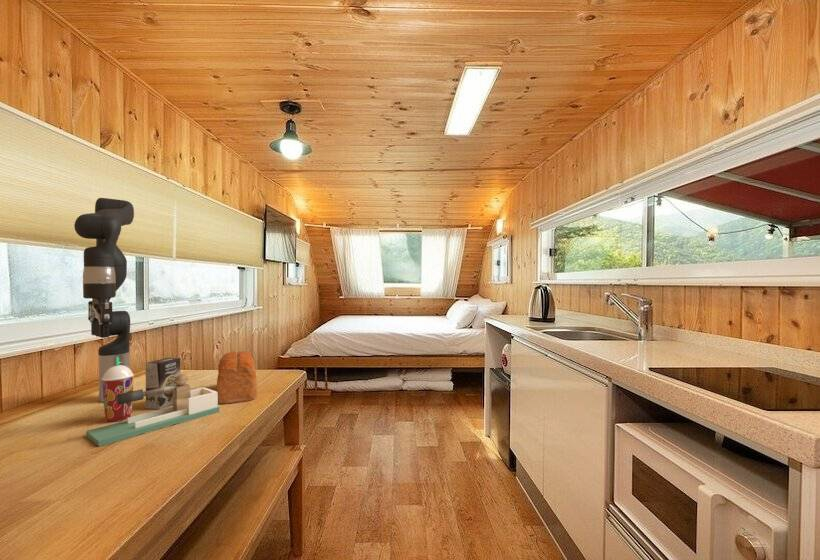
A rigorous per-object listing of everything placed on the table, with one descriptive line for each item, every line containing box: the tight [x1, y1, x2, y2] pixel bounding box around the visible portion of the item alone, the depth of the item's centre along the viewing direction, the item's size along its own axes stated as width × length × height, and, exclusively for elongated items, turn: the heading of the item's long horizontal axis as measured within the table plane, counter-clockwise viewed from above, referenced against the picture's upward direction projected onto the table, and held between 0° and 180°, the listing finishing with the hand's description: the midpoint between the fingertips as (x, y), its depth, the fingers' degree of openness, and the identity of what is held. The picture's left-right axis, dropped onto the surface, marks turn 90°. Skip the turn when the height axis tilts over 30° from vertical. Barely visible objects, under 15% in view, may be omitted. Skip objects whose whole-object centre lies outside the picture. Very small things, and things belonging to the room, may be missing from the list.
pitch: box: [85, 387, 220, 447], centre depth 116 cm, size 12×32×6 cm, turn 143°
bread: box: [215, 350, 258, 405], centre depth 146 cm, size 14×27×15 cm, turn 25°
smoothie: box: [101, 357, 135, 423], centre depth 120 cm, size 8×8×20 cm
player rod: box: [116, 373, 191, 412], centre depth 115 cm, size 4×19×12 cm, turn 143°
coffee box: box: [145, 357, 181, 410], centre depth 133 cm, size 9×6×16 cm
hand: (100, 336), depth 111 cm, fingers open, 8 cm apart
